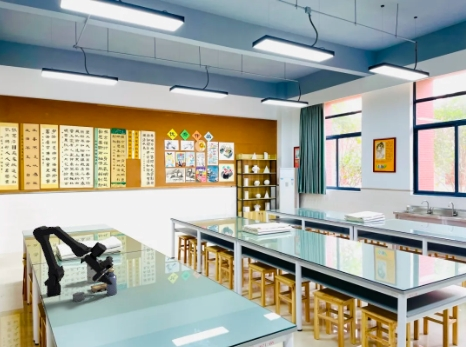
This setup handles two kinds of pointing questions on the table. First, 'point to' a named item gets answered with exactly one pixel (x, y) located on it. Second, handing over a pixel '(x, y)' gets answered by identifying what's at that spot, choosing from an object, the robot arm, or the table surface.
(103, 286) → the dock
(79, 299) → the grey rounded block
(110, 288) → the ink bottle
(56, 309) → the table surface
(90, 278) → the small box
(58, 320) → the table surface
